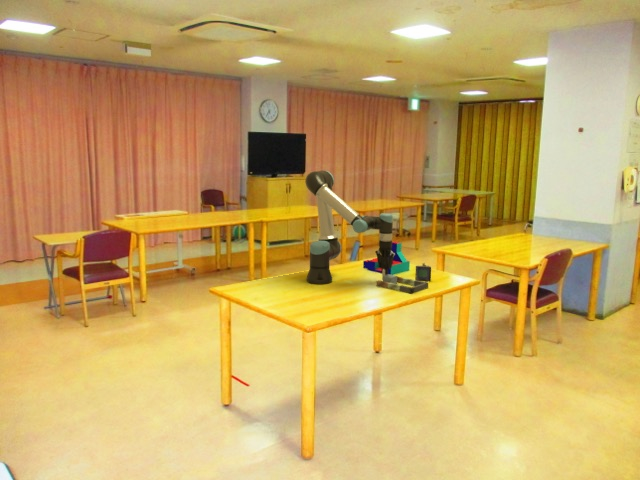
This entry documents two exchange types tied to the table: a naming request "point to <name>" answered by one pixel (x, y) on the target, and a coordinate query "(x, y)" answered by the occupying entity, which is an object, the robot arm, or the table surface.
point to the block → (390, 278)
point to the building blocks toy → (397, 266)
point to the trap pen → (417, 287)
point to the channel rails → (395, 286)
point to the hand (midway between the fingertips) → (384, 279)
